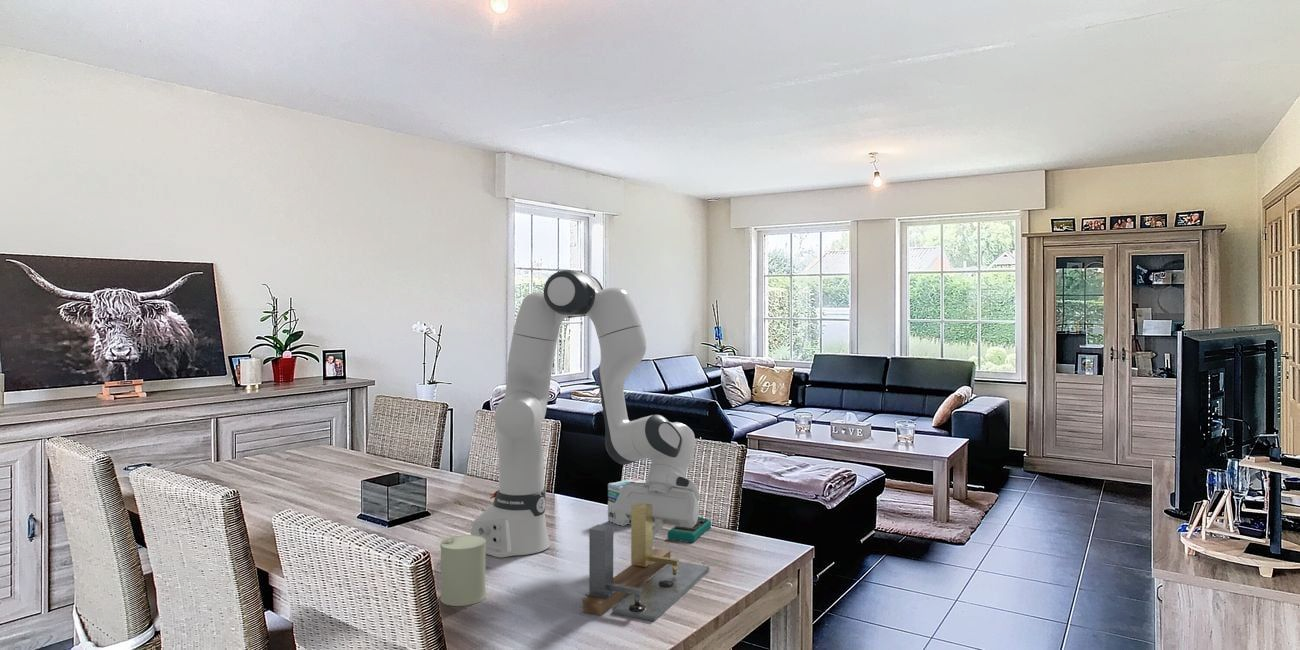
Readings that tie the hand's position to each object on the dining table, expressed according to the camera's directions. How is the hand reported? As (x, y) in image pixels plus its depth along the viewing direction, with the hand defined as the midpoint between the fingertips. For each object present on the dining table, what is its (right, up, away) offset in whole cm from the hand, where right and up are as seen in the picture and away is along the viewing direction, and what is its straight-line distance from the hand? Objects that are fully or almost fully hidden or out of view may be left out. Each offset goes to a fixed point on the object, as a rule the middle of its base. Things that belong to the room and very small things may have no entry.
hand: (646, 538), depth 166 cm
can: (-38, -8, -14) cm, 41 cm away
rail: (-3, -8, -7) cm, 11 cm away
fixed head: (-6, -7, -20) cm, 22 cm away
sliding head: (+2, -6, -4) cm, 7 cm away
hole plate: (+4, -8, -11) cm, 14 cm away
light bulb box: (-5, -7, +41) cm, 42 cm away
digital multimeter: (+11, -8, +29) cm, 33 cm away
